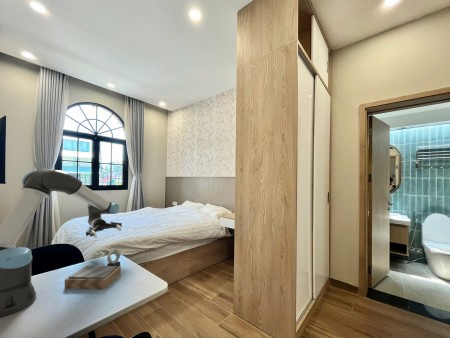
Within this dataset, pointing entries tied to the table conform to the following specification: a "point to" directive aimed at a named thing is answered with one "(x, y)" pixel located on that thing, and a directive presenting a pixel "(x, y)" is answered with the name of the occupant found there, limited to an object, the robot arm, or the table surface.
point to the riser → (93, 277)
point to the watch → (115, 262)
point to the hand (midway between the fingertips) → (108, 232)
